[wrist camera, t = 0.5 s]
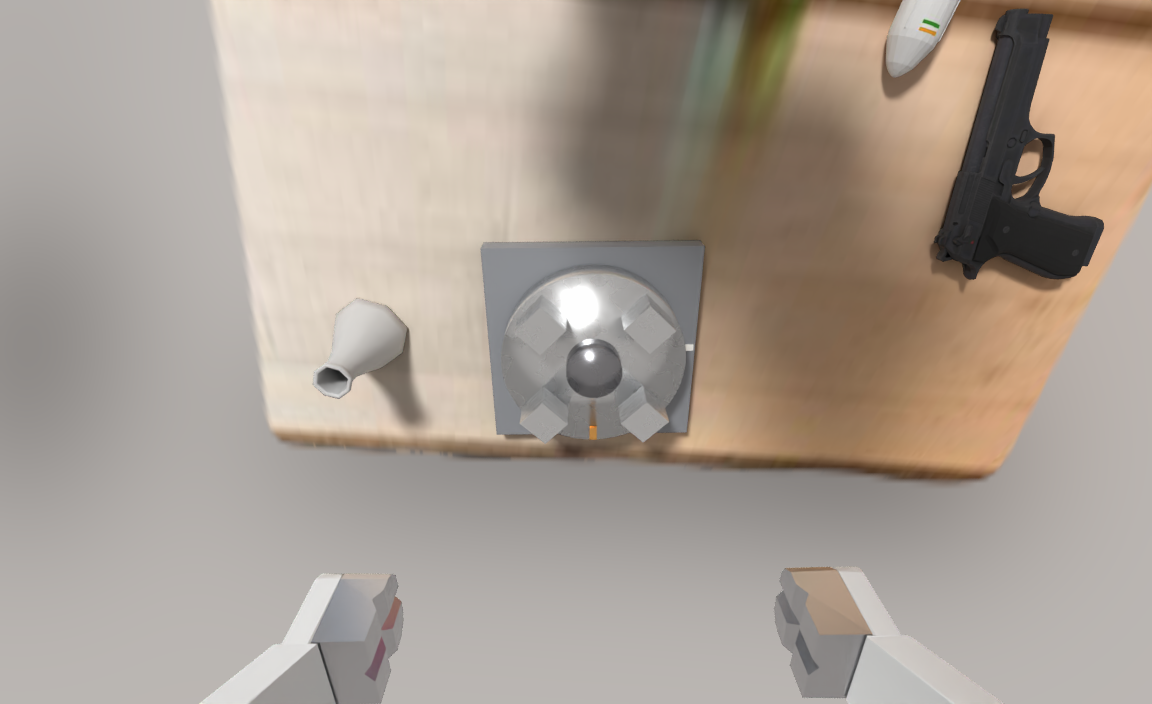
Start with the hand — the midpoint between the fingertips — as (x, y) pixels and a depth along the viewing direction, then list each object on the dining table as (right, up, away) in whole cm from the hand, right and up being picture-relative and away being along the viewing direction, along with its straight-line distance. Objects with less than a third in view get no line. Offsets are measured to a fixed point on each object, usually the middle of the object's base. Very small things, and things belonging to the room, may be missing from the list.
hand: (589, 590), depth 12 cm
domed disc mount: (+1, +5, +42) cm, 42 cm away
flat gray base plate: (+1, +6, +44) cm, 44 cm away
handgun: (+39, +22, +37) cm, 58 cm away
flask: (-21, +7, +43) cm, 49 cm away
